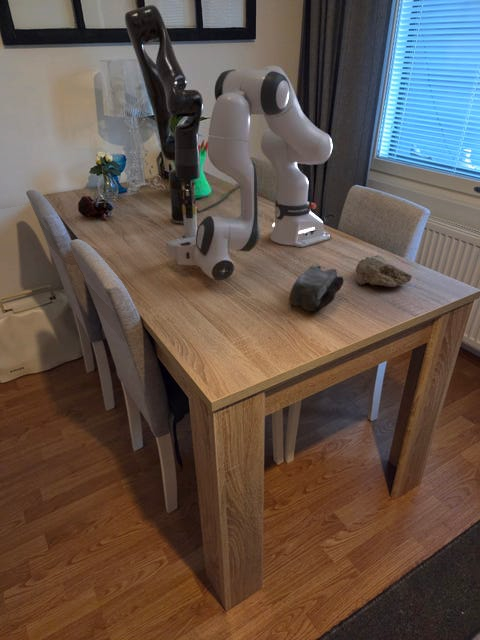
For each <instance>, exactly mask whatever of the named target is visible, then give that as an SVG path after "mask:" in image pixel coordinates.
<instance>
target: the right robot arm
mask: <svg viewBox="0 0 480 640" xmlns="http://www.w3.org/2000/svg"><path fill="white" fill-rule="evenodd" d="M214 98H215V102H214V106H213V109H212V113H211V117H210V122H209V128H208V137H207V142H208V148H207V156H208V159H209V162H210V163H211V164H212V165H213V166H214V168H215V169H217V170H218V171H219V172H221V173H223V174H224V175H226V176H228V177H230V178H231V179H233V180H234V181H235V182H236V183H237V185H238V186H239V187H240V188H239V191H240V215H239V216H238V217H233V216H231V217H229V216H221V215H220V216H219V215H218V216H216V215H207V216H206V217H205V218H203V220H202V221H201V222H200V223H199V225H197V234H196V237H190V238H186V237H185V236H184V235H180V236H179V239H177V238H176V239H172V240H167V241H166V242H165V249H166V253H167V254H168V255H169V256H170V258H172V259H173V260H175V261H177V264H178V265H180V266H188V265H189V266H196V267H200V269H201V270H202V271H203V273H204V274H206V275H207V276H208V277H209V278H211V279H212V280H215V281H223V280H227V279H228V278H230V277H231V276H232V275H233V274H234V271H235V264H234V261H233V260H232V258H231V256H230V253H229V251H237V252H246V253H248V252H250V251H252V250H253V249H254V248H255V247H256V246H257V245H258V243H259V241H260V236H261V235H260V233H261V232H260V226H259V210H258V209H259V208H258V206H259V203H258V202H259V201H258V199H259V197H258V195H259V194H258V193H259V192H258V171H257V166H256V165H255V163H254V162H253V161H252V160H251V157H250V152H249V151H250V150H249V144H250V133H251V131H250V130H251V115H256V116H257V115H259V116H261V115H262V116H263V117H264V120H265V122H266V124H267V126H268V127H267V128H266V129H265V130H264V132H263V133H262V136H261V138H260V149H261V152H262V154H263V155H264V156H265V158H267V159H268V161H269V162H270V164H271V166H272V168H273V170H274V173H275V178H276V200H275V203H274V222H273V223H272V227H273V228H272V232H271V235H270V240H271V241H272V242H274V243H276V244H279V245H284V246H293V247H294V246H295V247H297V248H304V247H307V246H311V245H314V244H317V243H321V242H324V241H327V240H330V234H329V233H328V232H327V231H325V225H324V224H325V223H327V218H328V217H330V216H331V217H332V218H336V215H335V214H334V213H332V212H331V213H327V214H325V215H324V216H322V219H321V218H320V217H319V216H317V215H316V214H315V213H314V212H312V210H315V209H317V203H314V202H310V201H308V199H309V186H310V185H309V184H310V183H309V180H308V177H307V175H305V174H304V173H303V172H302V171H301V170H300V169H299V167H298V164H302V165H307V166H311V165H323V164H325V163H326V162H327V161H328V160H329V158H330V157H331V154H332V151H333V141H332V138H331V136H330V135H329V134H328V133H327V132H325V131H323V130H322V129H320V128H318V127H317V126H316V125H315V124H314V123H312V122H311V120H310V119H309V118H308V117H307V115H306V114H305V113H304V112H303V110H302V108H301V105H300V102H299V101H298V98H297V95H296V92H295V90H294V87H293V85H292V82H291V81H290V79H289V77H288V75H287V74H286V72H285V71H284V70H283V68H282V67H280V66H278V65H273V64H272V65H271V64H270V65H267V66H265V67H262V68H261V69H256V68H255V69H254V68H251V69H237V70H236V69H228V70H225V71H222V72H221V73H220V74H219V76H218V77H217V79H216V81H215V85H214ZM311 209H312V210H311Z"/></svg>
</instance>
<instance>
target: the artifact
mask: <svg viewBox="0 0 480 640" xmlns="http://www.w3.org/2000/svg"><path fill="white" fill-rule="evenodd" d="M355 273H356V275H355V276H356V277H355V279H356V282H357V283H358V284H359V285H360V286H362V285H365V284H366V283H367V284H370V285H371V286H384V287H390V288H394V287H397V286H399V285H400V286H402V285H405V284H407V283H409V282H410V281H412V277H413V275H412V274H410V273H408V272H405V271H403V270H401V269H399V268H397V267H396V266H394V265H392V264H390V262H388V261H387V260H386V259H385V258H383V256H381V255H374V256H371V257H369V256H367V257H366V258H363V259H360V260H359V261H358V263H357V265H356V268H355Z"/></svg>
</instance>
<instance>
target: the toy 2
mask: <svg viewBox="0 0 480 640" xmlns="http://www.w3.org/2000/svg"><path fill="white" fill-rule="evenodd" d="M198 148H199V156H200V177H199V178H198V179H193V180H194V182H193V183H195V195H194V197H195V200H196V199H202V198H205V197H207V196H209V195H210V194H212V188H211V186H210V184H209V182H208V180H207V177H206V175H205V172H204V169H203V166H204V163H205V159H206V157H207V155H208V141H206V143H205V141H204V139H202V142H201V143H200V144H198ZM172 163H173V165H174V169H176V163H175V161H172ZM168 192H169V194H170V188H169V189H168Z"/></svg>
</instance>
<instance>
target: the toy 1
mask: <svg viewBox="0 0 480 640" xmlns="http://www.w3.org/2000/svg"><path fill="white" fill-rule="evenodd" d="M99 199H100V196H99V195H95V196H94V197H91V196H90V195H83V196H82V197H81V198H80V199H79V201H78V203H77V211H78V212H79V214H80V215H81V216H83V217H86V218H88V219H94V220H99V221H100V220H101V221H106V219H105V216H106V217H108V218H111V217H112V216H113V213H114V212H112V211H113V210H114V208H115V204H114V203H113V202H112V200H110V199H108V200H105V199H100V200H99Z"/></svg>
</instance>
